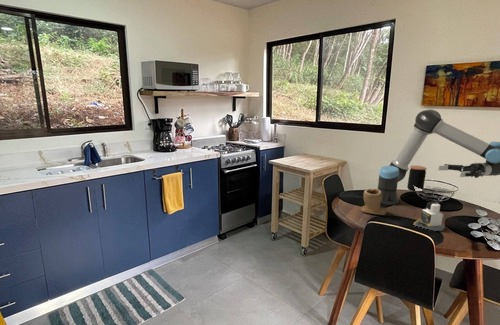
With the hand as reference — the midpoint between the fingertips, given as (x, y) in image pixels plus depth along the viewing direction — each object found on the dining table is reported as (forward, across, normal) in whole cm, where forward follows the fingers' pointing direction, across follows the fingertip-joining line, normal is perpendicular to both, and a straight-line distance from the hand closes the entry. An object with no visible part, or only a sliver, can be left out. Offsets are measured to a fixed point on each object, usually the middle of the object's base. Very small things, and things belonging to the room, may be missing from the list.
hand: (448, 171), depth 159 cm
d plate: (+11, -5, -30) cm, 32 cm away
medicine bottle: (+11, -5, -28) cm, 31 cm away
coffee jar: (-29, +51, -30) cm, 66 cm away
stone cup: (+31, +17, -30) cm, 46 cm away
